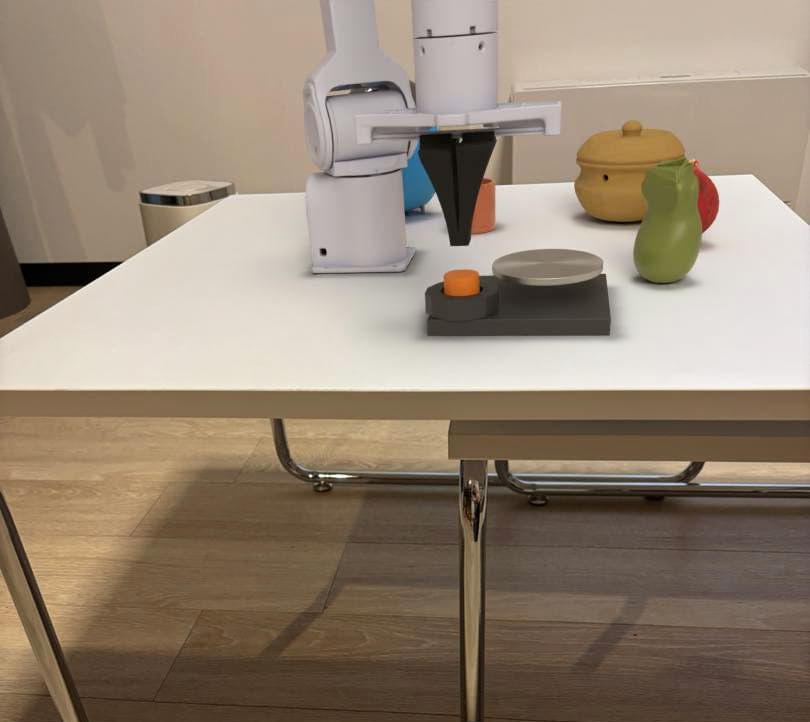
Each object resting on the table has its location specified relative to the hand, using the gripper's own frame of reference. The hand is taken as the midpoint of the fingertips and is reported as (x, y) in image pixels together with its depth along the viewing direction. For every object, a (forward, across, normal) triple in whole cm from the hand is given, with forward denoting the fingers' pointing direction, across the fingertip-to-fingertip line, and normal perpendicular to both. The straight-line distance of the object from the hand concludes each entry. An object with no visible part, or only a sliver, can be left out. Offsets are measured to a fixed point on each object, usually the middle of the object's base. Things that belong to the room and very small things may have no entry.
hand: (460, 243), depth 63 cm
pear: (+7, +16, +12) cm, 21 cm away
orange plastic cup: (+6, -2, +34) cm, 34 cm away
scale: (+6, +4, +4) cm, 9 cm away
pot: (+7, +14, +36) cm, 40 cm away
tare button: (+4, 0, 0) cm, 4 cm away
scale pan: (+4, +6, +5) cm, 9 cm away
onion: (+7, +20, +24) cm, 31 cm away
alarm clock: (+7, -14, +42) cm, 45 cm away
